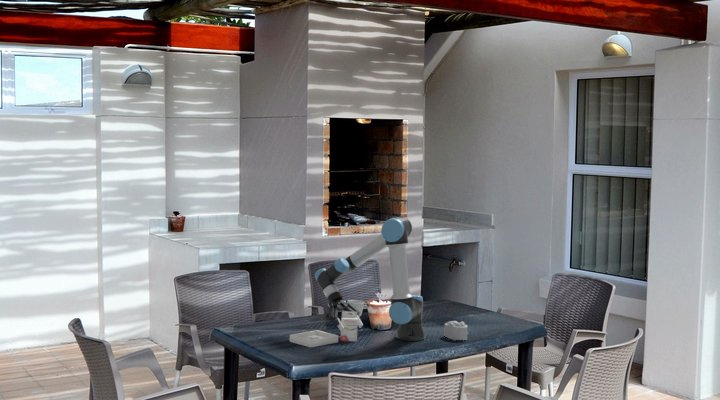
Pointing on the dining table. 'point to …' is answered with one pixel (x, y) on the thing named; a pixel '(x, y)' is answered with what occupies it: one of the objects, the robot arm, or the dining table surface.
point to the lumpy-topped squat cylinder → (455, 330)
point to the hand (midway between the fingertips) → (352, 328)
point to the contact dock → (313, 338)
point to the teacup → (357, 305)
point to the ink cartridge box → (349, 326)
